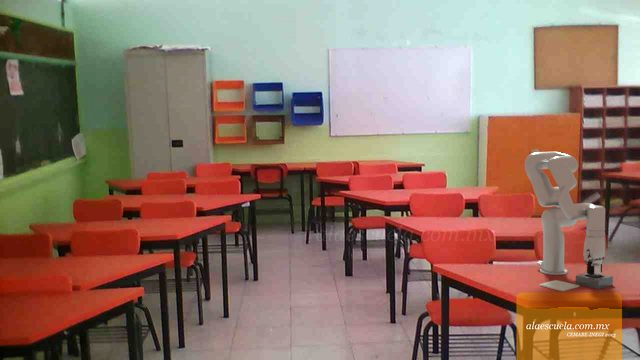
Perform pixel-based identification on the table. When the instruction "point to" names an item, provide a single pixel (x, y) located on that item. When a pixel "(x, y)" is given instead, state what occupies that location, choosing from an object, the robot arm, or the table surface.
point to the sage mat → (559, 285)
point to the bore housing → (594, 281)
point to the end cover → (596, 268)
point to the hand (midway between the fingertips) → (594, 272)
